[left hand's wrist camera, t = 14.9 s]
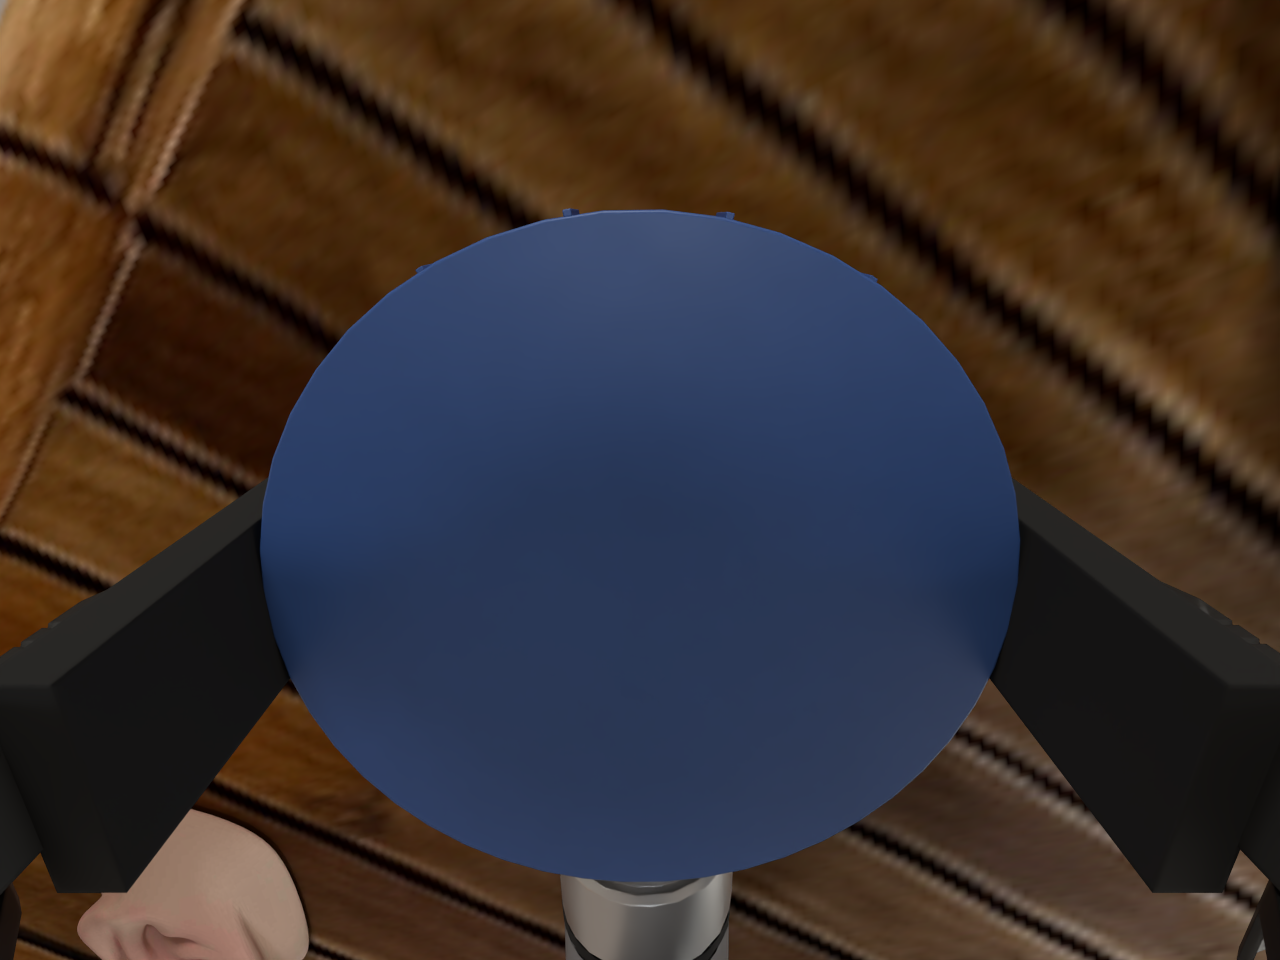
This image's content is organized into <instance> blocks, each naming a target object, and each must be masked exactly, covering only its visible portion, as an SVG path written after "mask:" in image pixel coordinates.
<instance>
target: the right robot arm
mask: <svg viewBox="0 0 1280 960" xmlns="http://www.w3.org/2000/svg"><path fill="white" fill-rule="evenodd" d="M732 875H733V872H729V873H725V874H720V875H715V876H710V877H704V878H695V879H685V880H676V881H666V882H617V881H606V880H594V879H583V878H577V877H572V876H566V875H561V874H560V879H561V890H562V905H563V913H564V920H565V945H566V960H728V931H729V913H730V900H731V893H732Z"/></svg>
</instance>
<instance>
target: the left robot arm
mask: <svg viewBox="0 0 1280 960" xmlns="http://www.w3.org/2000/svg"><path fill="white" fill-rule="evenodd" d="M268 478H269V477H268ZM268 478H267V479H265V480H264V481H262V482H261V483H260V484H258V485H257V486H255V487H254V488H252V489H251V490H250V491H248V492H247V493H245V494H244V495H242V496H241V497H240V498H238V499H237V500H235V501H234V502H232V503H231V504H230V505H228V506H227V507H225V508H224V509H222V510H221V511H219V512H218V513H217V514H215V515H214V516H212V517H211V518H209V519H208V520H207V521H205V522H204V523H202V524H201V525H199V526H198V527H197V528H195V529H194V530H192V531H191V532H189V533H188V534H187V535H185V536H184V537H182V538H181V539H179V540H178V541H176V542H175V543H174V544H172V545H171V546H169V547H168V548H166V549H165V550H164V551H162V552H161V553H159V554H158V555H156V556H155V557H154V558H152V559H151V560H149V561H148V562H146V563H145V564H144V565H142V566H141V567H139V568H138V569H136V570H135V571H133V572H132V573H131V574H129V575H128V576H126V577H125V578H123V579H122V580H121V581H119V582H118V583H116V584H115V585H113V586H112V587H111V588H109V589H108V590H105V591H103V592H101V593H99V594H96V595H94V596H92V597H90V598H88V599H85V600H83V601H81V602H79V603H78V604H76V605H75V606H73V607H72V608H71V609H69V610H68V611H66V612H65V613H63V614H62V615H60V616H59V617H57V618H56V619H54V620H53V621H52V622H50V623H49V624H48V628H41V629H40V630H38V631H37V632H36V633H34V634H33V635H31V636H30V637H28V638H27V639H25V640H24V641H22V642H21V647H14V648H12V649H11V650H9V651H8V652H6V653H5V654H3V655H2V656H0V960H13V958H14V952H15V947H16V941H17V936H18V930H19V925H20V919H21V907H20V901H19V897H18V895H17V892H16V890H15V888H14V886H13V883H12V882H13V881H14V880H15V879H16V878H17V877H18V876H19V874H20V873H21V872H22V871H23V870H24V869H25V868H26V867H27V866H28V865H29V864H30V863H31V862H32V861H33V860H34V859H35V858H36V857H37V855H38V854H39V853H40V852H41V855H42V857H43V860H44V862H45V864H46V867H47V869H48V872H49V874H50V877H51V879H52V881H53V884H54V886H55V889H56V891H57V893H127V892H128V891H129V889H130V888H131V887H132V886H133V884H134V883H135V882H136V880H137V879H138V878H139V876H140V875H141V874H142V872H143V871H144V870H145V868H146V867H147V866H148V864H149V863H150V862H151V861H152V859H153V858H154V857H155V855H156V854H157V853H158V851H159V850H160V849H161V847H162V846H163V845H164V843H165V842H166V841H167V839H168V838H169V837H170V836H171V834H172V833H173V832H174V830H175V829H176V828H177V826H178V825H179V824H180V822H181V821H182V820H183V818H184V817H185V816H186V814H187V813H188V812H189V811H190V809H191V808H192V807H193V805H194V804H195V803H196V801H197V800H198V799H199V797H200V796H201V795H202V793H203V792H204V791H205V789H206V788H207V787H208V786H209V784H210V783H211V782H212V780H213V779H214V778H215V776H216V775H217V774H218V772H219V771H220V770H221V768H222V767H223V766H224V765H225V763H226V762H227V761H228V759H229V758H230V757H231V755H232V754H233V753H234V751H235V750H236V749H237V747H238V746H239V745H240V743H241V742H242V741H243V740H244V738H245V737H246V736H247V734H248V733H249V732H250V730H251V729H252V728H253V726H254V725H255V724H256V722H257V721H258V720H259V718H260V717H261V716H262V715H263V713H264V712H265V711H266V709H267V708H268V707H269V705H270V704H271V703H272V701H273V700H274V699H275V697H276V696H277V695H278V693H279V692H280V691H281V690H282V688H283V687H284V686H285V684H286V683H287V682H288V680H289V679H290V676H289V674H288V671H287V669H286V666H285V664H284V661H283V658H282V656H281V653H280V651H279V648H278V646H277V643H276V641H275V638H274V633H273V629H272V625H271V620H270V616H269V611H268V607H267V602H266V598H265V593H264V588H263V580H262V568H261V557H260V540H261V524H262V508H263V501H264V497H265V492H266V488H267V483H268ZM1012 482H1013V486H1014V490H1015V494H1016V503H1017V513H1018V523H1019V534H1020V552H1019V571H1018V584H1017V588H1016V593H1015V598H1014V602H1013V607H1012V612H1011V616H1010V621H1009V625H1008V630H1007V634H1006V637H1005V640H1004V643H1003V646H1002V648H1001V651H1000V654H999V657H998V660H997V662H996V665H995V668H994V670H993V672H992V674H991V676H990V679H991V681H992V682H993V683H994V685H995V686H996V687H997V689H998V690H999V691H1000V693H1001V694H1002V695H1003V697H1004V698H1005V699H1006V701H1007V702H1008V703H1009V704H1010V706H1011V707H1012V708H1013V710H1014V711H1015V712H1016V714H1017V715H1018V716H1019V718H1020V719H1021V720H1022V722H1023V723H1024V724H1025V726H1026V727H1027V728H1028V729H1029V731H1030V732H1031V733H1032V735H1033V736H1034V737H1035V739H1036V740H1037V741H1038V743H1039V744H1040V745H1041V747H1042V748H1043V749H1044V751H1045V752H1046V753H1047V754H1048V756H1049V757H1050V758H1051V760H1052V761H1053V762H1054V764H1055V765H1056V766H1057V768H1058V769H1059V770H1060V772H1061V773H1062V774H1063V776H1064V777H1065V778H1066V779H1067V781H1068V782H1069V783H1070V785H1071V786H1072V787H1073V789H1074V790H1075V791H1076V793H1077V794H1078V795H1079V797H1080V798H1081V799H1082V801H1083V802H1084V803H1085V804H1086V806H1087V807H1088V808H1089V810H1090V811H1091V812H1092V814H1093V815H1094V816H1095V818H1096V819H1097V820H1098V822H1099V823H1100V824H1101V826H1102V827H1103V828H1104V829H1105V831H1106V832H1107V833H1108V835H1109V836H1110V837H1111V839H1112V840H1113V841H1114V843H1115V844H1116V845H1117V847H1118V848H1119V849H1120V851H1121V852H1122V853H1123V855H1124V856H1125V857H1126V858H1127V860H1128V861H1129V862H1130V864H1131V865H1132V866H1133V868H1134V869H1135V870H1136V872H1137V873H1138V874H1139V876H1140V877H1141V878H1142V880H1143V881H1144V882H1145V883H1146V885H1147V886H1148V887H1149V889H1150V890H1151V891H1152V893H1222V892H1223V890H1224V887H1225V885H1226V882H1227V880H1228V878H1229V875H1230V873H1231V870H1232V868H1233V865H1234V863H1235V861H1236V858H1237V856H1238V853H1239V851H1240V850H1241V851H1242V852H1243V853H1244V854H1245V855H1246V856H1247V857H1248V858H1249V859H1250V860H1251V861H1252V862H1253V863H1254V864H1255V865H1256V866H1257V868H1258V869H1259V870H1260V871H1261V872H1262V873H1263V874H1264V875H1265V876H1266V877H1267V878H1268V879H1269V881H1268V883H1267V886H1266V888H1265V890H1264V892H1263V895H1262V897H1261V899H1260V901H1259V904H1258V906H1257V908H1256V910H1255V913H1254V915H1253V917H1252V919H1251V922H1250V924H1249V926H1248V928H1247V931H1246V933H1245V935H1244V937H1243V940H1242V942H1241V944H1240V946H1239V951H1238V956H1237V960H1254V958H1255V956H1256V953H1257V952H1259V951H1262V950H1266V955H1267V960H1280V653H1279V652H1277V651H1276V650H1274V649H1273V648H1271V647H1270V646H1268V645H1267V644H1260V643H1259V639H1258V638H1257V637H1255V636H1254V635H1252V634H1251V633H1249V632H1248V631H1246V630H1245V629H1243V628H1242V627H1240V626H1239V625H1232V620H1230V619H1229V618H1227V617H1226V616H1224V615H1223V614H1221V613H1220V612H1218V611H1217V610H1215V609H1214V608H1212V607H1211V606H1209V605H1208V604H1207V603H1205V602H1204V601H1202V600H1201V599H1199V598H1197V597H1194V596H1192V595H1190V594H1188V593H1185V592H1183V591H1181V590H1179V589H1176V588H1174V587H1172V586H1170V585H1167V584H1165V583H1163V582H1161V581H1159V580H1158V579H1156V578H1155V577H1153V576H1152V575H1150V574H1149V573H1148V572H1146V571H1145V570H1143V569H1142V568H1140V567H1139V566H1137V565H1136V564H1135V563H1133V562H1132V561H1130V560H1129V559H1127V558H1126V557H1125V556H1123V555H1122V554H1120V553H1119V552H1117V551H1116V550H1115V549H1113V548H1112V547H1110V546H1109V545H1107V544H1106V543H1105V542H1103V541H1102V540H1100V539H1099V538H1097V537H1096V536H1095V535H1093V534H1092V533H1090V532H1089V531H1087V530H1086V529H1084V528H1083V527H1082V526H1080V525H1079V524H1077V523H1076V522H1074V521H1073V520H1072V519H1070V518H1069V517H1067V516H1066V515H1064V514H1063V513H1062V512H1060V511H1059V510H1057V509H1056V508H1054V507H1053V506H1052V505H1050V504H1049V503H1047V502H1046V501H1044V500H1043V499H1041V498H1040V497H1039V496H1037V495H1036V494H1034V493H1033V492H1031V491H1030V490H1029V489H1027V488H1026V487H1024V486H1023V485H1021V484H1020V483H1019V482H1017V481H1016V480H1014V479H1013V478H1012Z"/></svg>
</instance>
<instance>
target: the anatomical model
mask: <svg viewBox="0 0 1280 960" xmlns="http://www.w3.org/2000/svg"><path fill="white" fill-rule="evenodd" d="M77 931H78V934H79V936H80V938H81V939H82V941H83V942H84V943H85V944H86V945H87V946H88V947H89V948H90V949H91V950H92V951H93V952H95V953H96V954H97V955H98V956H99V957H100V958H101V959H102V960H302V959H303V958H304V957H305V955H306V953H307V951H308V945H309V936H308V928H307V923H306V919H305V915H304V911H303V907H302V904H301V901H300V898H299V896H298V893H297V890H296V887H295V885H294V883H293V880H292V878H291V876H290V874H289V872H288V870H287V868H286V866H285V865H284V863H283V861H282V860H281V858H280V857H279V856H278V854H277V853H276V851H275V850H274V849H273V848H272V847H271V846H270V845H269V844H268V843H266V842H265V841H264V840H263V839H262V838H260V837H259V836H257V835H256V834H254V833H253V832H251V831H249V830H247V829H245V828H243V827H241V826H239V825H237V824H234V823H232V822H230V821H227V820H225V819H222V818H219V817H216V816H213V815H210V814H207V813H203V812H200V811H196V810H193V809H190V811H189V812H188V813H187V814H186V816H185V817H184V818H183V820H182V821H181V822H180V824H179V825H178V826H177V828H176V829H175V830H174V832H173V833H172V834H171V836H170V837H169V838H168V839H167V841H166V842H165V843H164V845H163V846H162V847H161V849H160V850H159V851H158V853H157V854H156V855H155V857H154V858H153V859H152V861H151V862H150V863H149V864H148V866H147V867H146V868H145V870H144V871H143V872H142V874H141V875H140V876H139V878H138V879H137V880H136V882H135V883H134V884H133V886H132V887H131V888H130V889H129V891H128V892H127V893H102V897H101V898H100V899H99V900H98V901H97V902H96V903H95V904H94V905H93V906H92V907H91V908H90V909H88V910H87V911H86V912H85V914H84V915H83V916H82V918H81V919H80V921H79V923H78V927H77Z"/></svg>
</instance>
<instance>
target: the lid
mask: <svg viewBox="0 0 1280 960" xmlns="http://www.w3.org/2000/svg"><path fill="white" fill-rule="evenodd" d="M563 216H564V217H559V218H553V219H547V220H542V221H539V222H535V223H532V224H529V225H526V226H522V227H519V228H516V229H513V230H509V231H506V232H503V233H500V234H496V235H493V236H490V237H487V238H485V239H483V240H481V241H478V242H476V243H474V244H472V245H470V246H468V247H466V248H464V249H462V250H459V251H457V252H455V253H453V254H451V255H449V256H447V257H445V258H443V259H440V260H438V261H436V262H434V263H433V264H429V265H424V266H421V267H419V268H418V269H416V272H417V273H418V274H416V275H415V276H413V277H412V278H410V279H409V280H407V281H406V282H404V283H403V284H401V285H400V286H398V287H397V288H395V289H394V290H392V291H391V292H389V293H388V294H387V295H386V296H385V297H384V298H383V299H381V300H380V301H379V302H378V303H377V304H376V305H375V306H374V307H373V308H372V309H370V310H369V311H368V312H367V313H366V314H365V315H364V316H363V317H362V318H361V319H359V320H358V321H357V322H356V323H355V324H354V325H353V326H352V327H351V328H350V329H348V331H347V332H346V333H345V334H344V336H343V337H342V338H341V339H340V341H339V342H338V343H337V344H336V345H335V347H334V348H333V349H332V350H331V352H330V353H329V354H328V355H327V357H326V358H325V359H324V360H323V362H322V363H321V364H320V365H319V366H318V368H317V369H316V370H315V372H314V374H313V375H312V377H311V379H310V381H309V382H308V384H307V386H306V387H305V389H304V391H303V393H302V394H301V396H300V398H299V399H298V401H297V403H296V405H295V406H294V408H293V410H292V411H291V413H290V416H289V418H288V421H287V423H286V426H285V429H284V431H283V434H282V436H281V439H280V441H279V444H278V447H277V449H276V452H275V454H274V457H273V460H272V465H271V469H270V474H269V478H268V483H267V488H266V492H265V497H264V501H263V508H262V524H261V540H260V557H261V568H262V580H263V588H264V593H265V598H266V602H267V607H268V611H269V616H270V620H271V625H272V629H273V633H274V638H275V641H276V643H277V646H278V648H279V651H280V653H281V656H282V658H283V661H284V664H285V666H286V669H287V671H288V674H289V676H290V678H291V680H292V682H293V683H294V685H295V687H296V689H297V691H298V692H299V694H300V696H301V698H302V700H303V701H304V703H305V705H306V707H307V708H308V710H309V712H310V714H311V715H312V716H313V718H314V719H315V720H316V722H317V723H318V724H319V726H320V727H321V728H322V730H323V731H324V733H325V734H326V735H327V737H328V738H329V739H330V741H331V742H332V743H333V745H334V746H335V747H336V748H337V749H338V750H339V751H340V752H341V754H342V755H343V756H344V757H345V758H346V759H347V760H348V761H349V762H350V763H351V764H352V765H353V766H354V767H355V768H356V769H357V770H358V772H359V773H360V774H361V775H362V776H363V777H364V778H366V779H367V780H368V781H369V782H370V783H372V784H373V785H374V786H375V787H376V788H378V789H379V790H380V791H381V792H382V793H383V794H385V795H386V796H387V797H388V798H389V799H391V800H392V801H393V802H394V803H396V804H397V805H399V806H400V807H402V808H403V809H405V810H406V811H408V812H409V813H411V814H412V815H414V816H415V817H417V818H418V819H420V820H421V821H423V822H424V823H426V824H427V825H429V826H430V827H432V828H434V829H436V830H438V831H440V832H442V833H444V834H446V835H448V836H450V837H452V838H453V839H455V840H457V841H459V842H461V843H463V844H465V845H467V846H470V847H472V848H475V849H477V850H480V851H482V852H485V853H487V854H490V855H492V856H495V857H498V858H500V859H503V860H506V861H509V862H513V863H516V864H520V865H523V866H527V867H530V868H534V869H537V870H541V871H545V872H550V873H556V874H561V875H566V876H572V877H577V878H583V879H594V880H606V881H617V882H666V881H676V880H685V879H695V878H704V877H710V876H715V875H720V874H725V873H729V872H734V871H739V870H744V869H748V868H751V867H754V866H758V865H761V864H764V863H767V862H771V861H774V860H777V859H780V858H784V857H786V856H789V855H791V854H793V853H796V852H798V851H801V850H803V849H805V848H808V847H810V846H812V845H815V844H817V843H819V842H822V841H824V840H826V839H827V838H829V837H831V836H833V835H835V834H837V833H838V832H840V831H842V830H844V829H846V828H847V827H849V826H851V825H853V824H855V823H857V822H858V821H860V820H861V819H863V818H864V817H866V816H867V815H868V814H870V813H871V812H873V811H874V810H876V809H877V808H878V807H880V806H881V805H883V804H884V803H886V802H887V801H888V800H890V799H891V798H893V797H894V796H895V795H896V794H897V793H898V792H900V791H901V790H902V789H903V788H904V787H905V786H906V785H907V784H909V783H910V782H911V781H912V780H913V779H914V778H915V777H917V776H918V775H919V774H920V773H921V772H922V771H923V770H924V769H925V768H926V767H927V766H928V765H929V764H930V763H931V761H932V760H933V759H934V758H935V757H936V756H937V755H938V754H939V753H940V751H941V750H942V749H943V748H944V747H945V746H946V745H947V744H948V743H949V741H950V740H951V739H952V738H953V736H954V735H955V733H956V732H957V730H958V729H959V728H960V726H961V725H962V723H963V722H964V720H965V719H966V718H967V716H968V715H969V713H970V712H971V710H972V709H973V708H974V706H975V705H976V703H977V701H978V699H979V697H980V695H981V693H982V691H983V689H984V687H985V685H986V683H987V681H988V679H989V678H990V676H991V674H992V672H993V670H994V668H995V665H996V662H997V660H998V657H999V654H1000V651H1001V648H1002V646H1003V643H1004V640H1005V637H1006V634H1007V630H1008V625H1009V621H1010V616H1011V612H1012V607H1013V602H1014V598H1015V593H1016V588H1017V584H1018V571H1019V552H1020V534H1019V523H1018V513H1017V503H1016V494H1015V490H1014V486H1013V482H1012V478H1011V474H1010V470H1009V466H1008V463H1007V459H1006V455H1005V451H1004V448H1003V445H1002V443H1001V441H1000V438H999V436H998V434H997V431H996V429H995V427H994V424H993V422H992V420H991V417H990V415H989V413H988V410H987V408H986V406H985V403H984V402H983V400H982V399H981V397H980V396H979V394H978V392H977V391H976V389H975V388H974V386H973V384H972V383H971V381H970V380H969V378H968V376H967V375H966V373H965V372H964V370H963V369H962V367H961V365H960V364H959V362H958V361H957V359H956V358H955V357H954V356H953V355H952V354H951V353H950V351H949V350H948V349H947V348H946V347H945V346H944V345H943V343H942V342H941V341H940V340H939V339H938V338H937V336H936V335H935V334H934V333H933V332H932V331H931V330H930V328H929V327H928V326H927V325H926V324H925V323H924V322H923V321H922V320H921V319H920V318H919V317H918V316H917V315H915V314H914V313H913V312H912V311H911V310H909V309H908V308H907V307H906V306H905V305H904V304H902V303H901V302H900V301H899V300H898V299H897V298H895V297H894V296H893V295H892V294H891V293H889V292H888V291H887V290H886V289H885V288H884V287H882V286H881V285H880V284H878V283H876V282H877V279H876V278H875V277H874V276H872V275H868V274H864V273H860V272H859V271H857V270H855V269H854V268H852V267H850V266H849V265H847V264H846V263H844V262H842V261H841V260H839V259H838V258H836V257H834V256H832V255H830V254H828V253H826V252H823V251H821V250H819V249H816V248H814V247H812V246H809V245H807V244H805V243H803V242H800V241H798V240H796V239H793V238H791V237H789V236H786V235H784V234H782V233H779V232H775V231H772V230H768V229H764V228H761V227H757V226H753V225H750V224H746V223H742V222H739V221H735V220H733V219H734V213H730V212H720V213H717V214H716V216H710V215H702V214H694V213H686V212H678V211H670V210H610V211H597V212H591V213H585V214H579V210H576V209H565V210H563Z"/></svg>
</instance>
